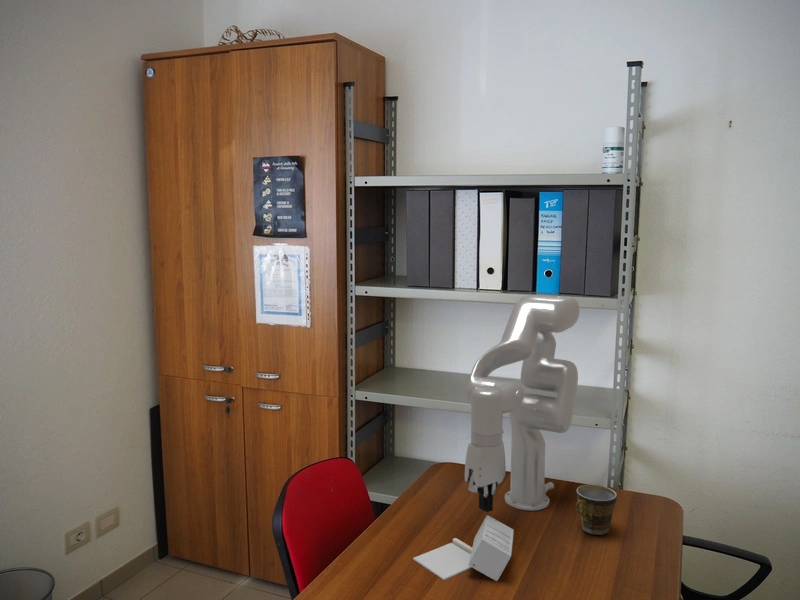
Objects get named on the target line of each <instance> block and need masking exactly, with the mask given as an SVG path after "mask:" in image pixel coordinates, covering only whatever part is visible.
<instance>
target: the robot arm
mask: <svg viewBox="0 0 800 600" xmlns="http://www.w3.org/2000/svg"><path fill="white" fill-rule="evenodd" d="M579 316H580V305H579V302H578V300H577V299H576V298H575V297H572V296H563V295H551V294H549V295H548V294H527V295H524V296H522V297H521V298H520V299H519V300H518V301H517V302H516V303H515V304H514V305H513V307H512V309H511V312H510V316H509V317H508V319H507V320H508V321H507V324H506V326H505V329H504V331H503V334H502V337H501V340H500V341H499V342H498V343H497V344H496V345H494V346H493V347H491V348H490V349H488V350H487V351H486V352H484V353H483V354H482V355H481V356H480V357H479V358H478V359H477V360H476V362H475V364H474V365H473V367H472V369H471V373H470V375H469V377H468V380H467V383H466V387H465V396H466V397H465V398H466V401H467V402H468V403H469V404H470V405H471V406H470V407H471V408H470V411H471V412H470V416H471V417H470V443H468V445H467V449H466V456H465V463H464V481H465V483H469V484H468V491H469V492H471V493H476V494H478V508H479V509H480V510H481V511H484V512H486V513H489V512H492V511H493V509H494V508H493V507H494V505H493V504H494V495H495V493H496V488H497V487H498V485H500V484H501V483H502V482H503V481H504V478H505V476H506V469H507V468H506V467H507V466H506V464H507V463H506V451H505V446H504V444H505V443H504V441H503V434H504V430H503V429H504V428H503V417H504V416H503V415H504V414H507V413H508V414H509V415H508V416H509V422H510V431H511V433H510V434H511V447H510V448H511V450H510V484H509V485H510V487H509V489H510V490H508V491H507V492H506V493H505V494H504V501H505V503H506V504H507V505H508V506H510V507H512V508H515V509H517V510H521V511H530V512H531V511H541V510H544V509H546V508H548V507H549V505H550V498H549V496H548V495H547V492H548V491H550V490H552V489H554V488H555V484H554V483H553V482H552V481H549V482H547V483H545V478H546V477H545V475H546V469H545V467H546V440H545V438H544V435H543V434H542V432H541V431H545V432H550V433H556V434H557V433H558V434H564V433H566V432H568V431H569V430H570V428H571V424H572V421H573V416H574V408H575V402H576V396H577V391H578V381H579V372H578V368H577V366H576V364H575V363H574V362H572V361H571V360H568V359H559V358H555V353H556V347H557V341H556V338H555V336H554V335H553V333H555V334H558V333H564V332H565V331H566V330H567V331H568V329H570V328H572V327H574V325H575V324H576V323H577V321H578V319H579ZM521 361H522V364H521V370H520V382H521V385H522V386H523V387H525V388H526V389H530V390H534V391H539V392H545V393H546V392H548V393H553V394H556V397H555V396H554V397H553V396H549V395H548V396H547V395H542V394H537V393H529V392H524V390H523V388H522V386H521V385H520V384H519V383H517V382H515V381H513V380H504V379H498V378H493V377H492V378H491V377H489V375H490V374H492V373H493V372H494V371H496V370H497V369H499V368H501V367H504V366H508V365H512V364H515V363H517V362H521Z"/></svg>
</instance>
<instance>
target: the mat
mask: <svg viewBox="0 0 800 600" xmlns="http://www.w3.org/2000/svg"><path fill="white" fill-rule="evenodd" d="M470 556H471V554H469V553H467V552H466V551H464V550H462V549H461V548H459V547H457V546H456V545H454V544H453V542H450V543H447V544H445V545H442V546H440V547H438V548H435V549H432V550H430V551H428V552H425V553H422V554H420V555H417V556H414V557H413V558H412V560H413V561H415V562H416V563H418V564H419V565H421V566H422V567H424V568H425V569H426V570H428V571H429V572H431V573H433V574H434V575H435V576H437V577H439V578H440V579H441V580H443V581H446V580H448V579H450V578H452V577H455V576H457V575H460V574H461V573H464V572H466V571H468V570H470V569H473V568H472V567H470V566H469V560H470Z"/></svg>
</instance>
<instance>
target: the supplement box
mask: <svg viewBox="0 0 800 600" xmlns="http://www.w3.org/2000/svg"><path fill="white" fill-rule="evenodd" d="M514 531H515V530H514V529H513V528H511V527H510V526H507V525H506V524H504V523H503V522H501V521H499V520H497V519H495V518H493V517H492V516H489V515H486V516H485V518H484V520H483V522H482V523H481V525H480V527H479V528H478V531H477V533H476V534H475V535H474V538H473V543H472V546H471V547H472V551H471V556H470V560H469V566H470V567H472V568H471V569H474V570H475V571H477V572H479V573H481V574H483V575H485V576H486V577H488V578H490V579H492V580H493V581H495V582H498V580H499V579H500V577H501V575H502V573H503V572H504V570H505V568H506V566H507V565H508V563H509V561H510V559H511V557H512V553H513V552H512V551H513V543H514Z"/></svg>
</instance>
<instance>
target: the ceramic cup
mask: <svg viewBox="0 0 800 600" xmlns="http://www.w3.org/2000/svg"><path fill="white" fill-rule="evenodd" d="M617 497H618V495H617V492H616V491H615V490H613V489H611V488H609V487H607V486H604V485H599V484H583V485H580V486H578V487H577V488H576V499H577V502H576V503H575V510H576V512H577V513H578V514H580V521H581V526H582V529H583V532H585V533H589V534H590V535H599V536H603V535H604V534H607V533H609V531H610V527H611V523H612V520H613V514H614V511H615V508H616V502H617Z"/></svg>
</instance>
